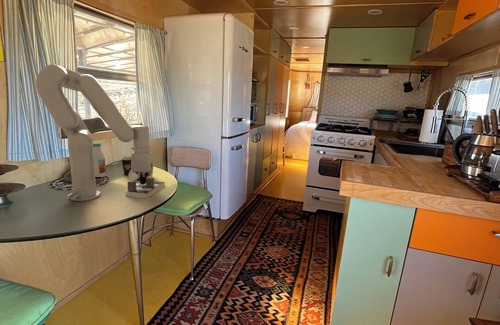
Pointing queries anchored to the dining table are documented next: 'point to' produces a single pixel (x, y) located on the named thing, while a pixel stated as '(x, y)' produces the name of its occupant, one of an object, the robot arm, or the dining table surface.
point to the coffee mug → (126, 165)
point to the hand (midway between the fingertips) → (143, 183)
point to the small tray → (142, 189)
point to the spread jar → (134, 176)
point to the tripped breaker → (149, 181)
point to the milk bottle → (99, 160)
